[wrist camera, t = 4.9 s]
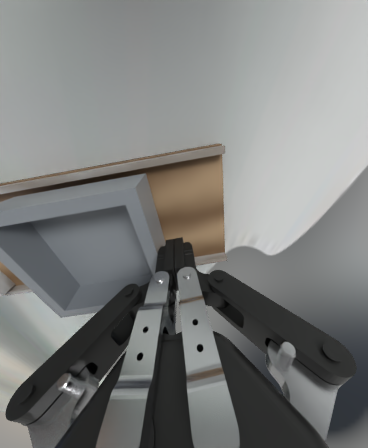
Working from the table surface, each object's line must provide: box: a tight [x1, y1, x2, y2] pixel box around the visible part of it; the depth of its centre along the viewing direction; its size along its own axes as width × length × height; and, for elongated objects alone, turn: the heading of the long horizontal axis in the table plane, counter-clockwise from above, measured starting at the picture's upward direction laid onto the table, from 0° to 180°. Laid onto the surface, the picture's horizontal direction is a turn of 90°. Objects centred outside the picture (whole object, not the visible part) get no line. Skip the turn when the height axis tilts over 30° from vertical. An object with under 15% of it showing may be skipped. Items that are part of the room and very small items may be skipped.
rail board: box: [0, 144, 227, 296], centre depth 18 cm, size 14×31×3 cm, turn 99°
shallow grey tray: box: [0, 173, 166, 318], centre depth 15 cm, size 12×12×6 cm
